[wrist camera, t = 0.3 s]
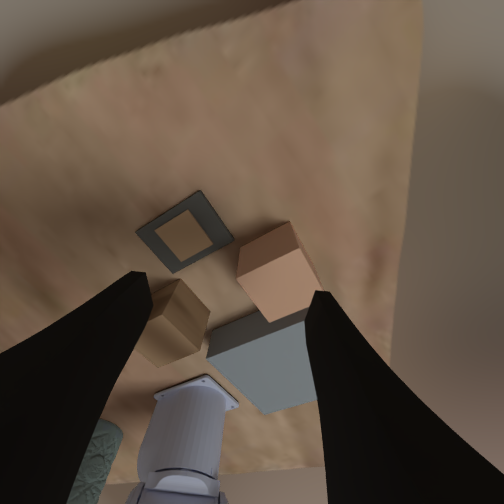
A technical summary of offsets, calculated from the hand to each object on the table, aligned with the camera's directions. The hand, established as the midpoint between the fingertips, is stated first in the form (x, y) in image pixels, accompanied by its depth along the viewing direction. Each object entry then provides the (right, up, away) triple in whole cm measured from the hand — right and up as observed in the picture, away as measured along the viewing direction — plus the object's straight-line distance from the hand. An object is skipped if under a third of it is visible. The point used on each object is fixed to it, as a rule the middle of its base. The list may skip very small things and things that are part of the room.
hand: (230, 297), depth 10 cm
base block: (+5, -9, +17) cm, 20 cm away
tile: (-5, +4, +10) cm, 12 cm away
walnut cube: (-7, -4, +14) cm, 16 cm away
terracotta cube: (+3, +2, +11) cm, 12 cm away
